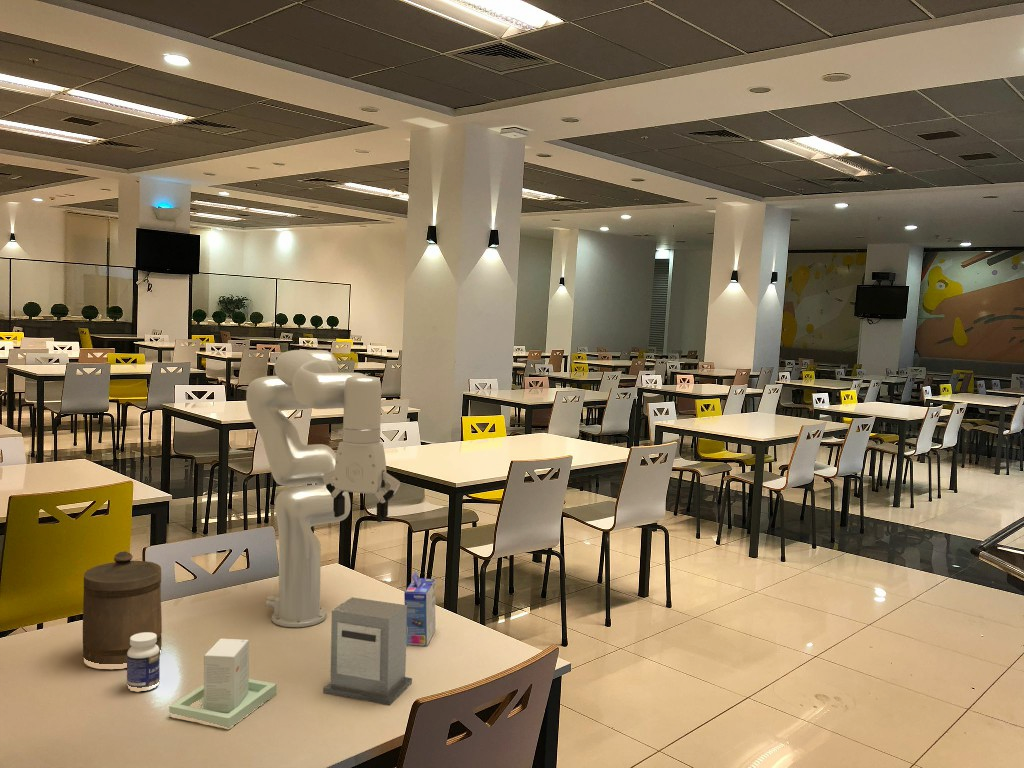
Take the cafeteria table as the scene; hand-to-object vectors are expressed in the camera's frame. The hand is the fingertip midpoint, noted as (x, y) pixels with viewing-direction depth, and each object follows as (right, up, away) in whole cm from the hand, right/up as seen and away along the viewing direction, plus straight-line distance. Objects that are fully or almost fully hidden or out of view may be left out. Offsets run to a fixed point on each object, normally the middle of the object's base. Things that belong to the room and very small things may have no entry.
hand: (360, 518), depth 171 cm
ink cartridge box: (+11, -30, +16) cm, 35 cm away
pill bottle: (-39, -30, -13) cm, 51 cm away
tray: (-21, -31, -19) cm, 43 cm away
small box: (-21, -31, -19) cm, 42 cm away
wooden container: (-50, -29, +1) cm, 57 cm away
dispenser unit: (+3, -31, -10) cm, 33 cm away
